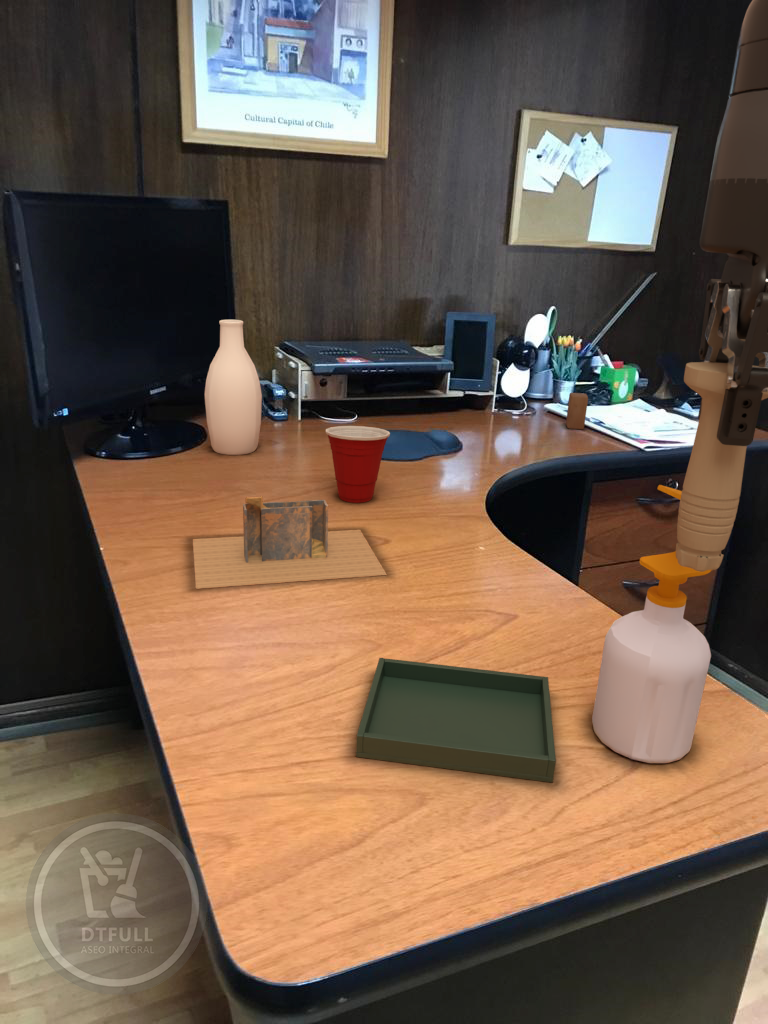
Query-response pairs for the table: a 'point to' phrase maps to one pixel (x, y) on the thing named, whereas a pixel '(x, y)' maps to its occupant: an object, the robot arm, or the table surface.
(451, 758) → the brush tray
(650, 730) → the soap bottle
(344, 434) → the plastic cup
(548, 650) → the table surface
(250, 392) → the bottle
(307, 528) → the ruin model on sheet
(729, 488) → the handle
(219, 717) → the table surface
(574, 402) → the wooden block
